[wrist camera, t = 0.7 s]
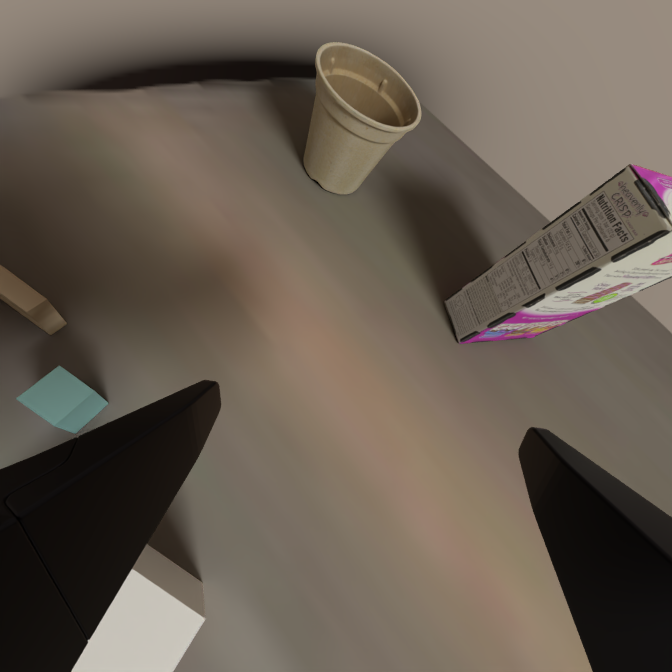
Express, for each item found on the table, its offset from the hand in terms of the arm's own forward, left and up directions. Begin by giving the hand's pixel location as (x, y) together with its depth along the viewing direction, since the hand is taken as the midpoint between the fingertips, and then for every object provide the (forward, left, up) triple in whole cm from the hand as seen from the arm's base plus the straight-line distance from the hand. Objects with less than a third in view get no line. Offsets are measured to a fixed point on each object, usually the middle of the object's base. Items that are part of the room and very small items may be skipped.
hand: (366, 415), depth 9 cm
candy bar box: (+23, -11, -13) cm, 28 cm away
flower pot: (+25, +11, -13) cm, 30 cm away
